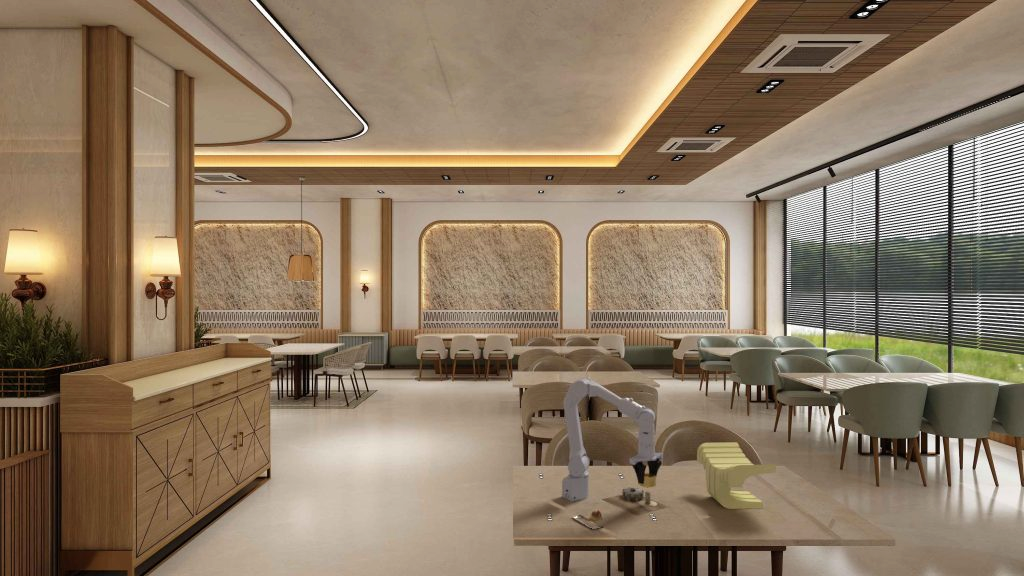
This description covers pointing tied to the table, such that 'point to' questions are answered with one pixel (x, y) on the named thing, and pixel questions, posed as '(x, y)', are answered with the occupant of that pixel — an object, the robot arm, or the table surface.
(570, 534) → the table surface
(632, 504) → the gear board
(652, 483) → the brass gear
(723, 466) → the slatted curved stool
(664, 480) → the table surface
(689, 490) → the table surface
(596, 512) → the dessert
